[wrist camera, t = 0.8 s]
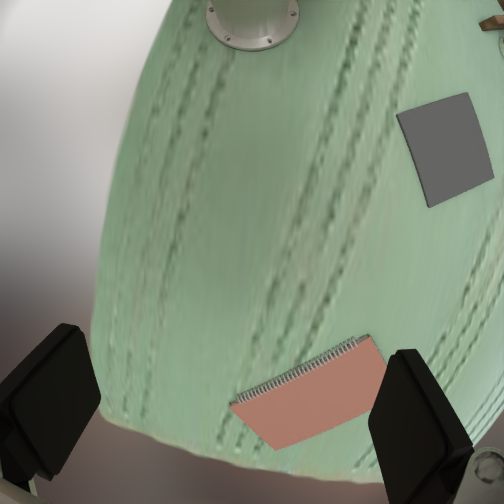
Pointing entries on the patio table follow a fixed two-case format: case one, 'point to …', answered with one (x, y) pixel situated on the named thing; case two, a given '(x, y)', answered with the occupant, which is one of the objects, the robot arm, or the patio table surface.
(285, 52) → the patio table surface
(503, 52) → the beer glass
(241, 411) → the notebook
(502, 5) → the slot rack
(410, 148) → the rubber mat
